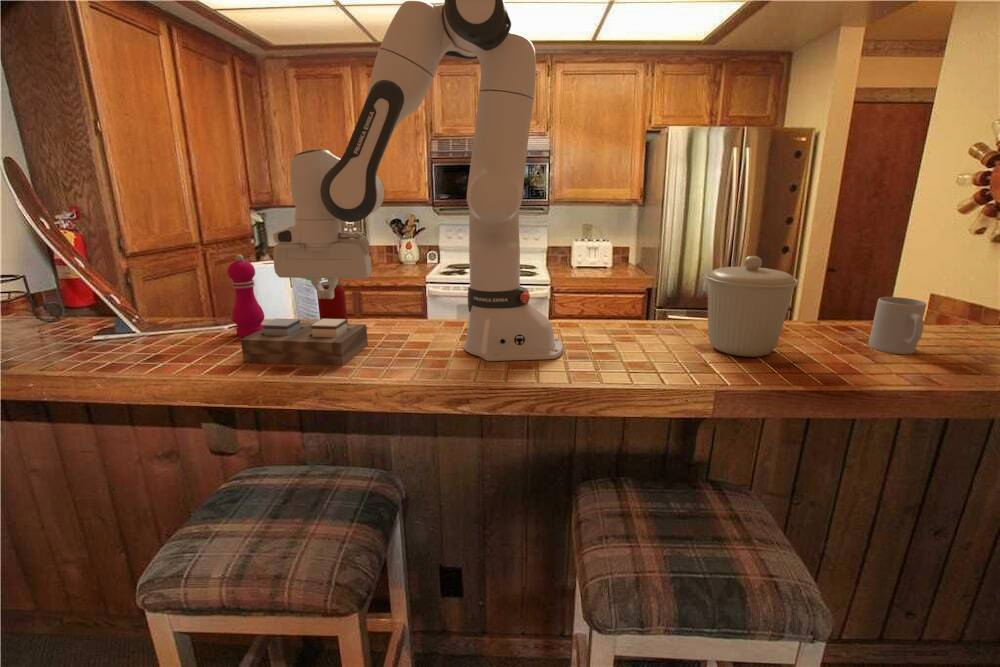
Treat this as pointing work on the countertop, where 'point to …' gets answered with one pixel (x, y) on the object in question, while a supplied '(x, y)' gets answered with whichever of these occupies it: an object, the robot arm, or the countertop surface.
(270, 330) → the slate key
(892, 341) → the mug
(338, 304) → the beverage can
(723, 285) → the canister
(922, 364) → the countertop surface
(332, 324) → the cream key
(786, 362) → the countertop surface
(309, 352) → the frame
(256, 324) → the pepper mill
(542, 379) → the countertop surface
